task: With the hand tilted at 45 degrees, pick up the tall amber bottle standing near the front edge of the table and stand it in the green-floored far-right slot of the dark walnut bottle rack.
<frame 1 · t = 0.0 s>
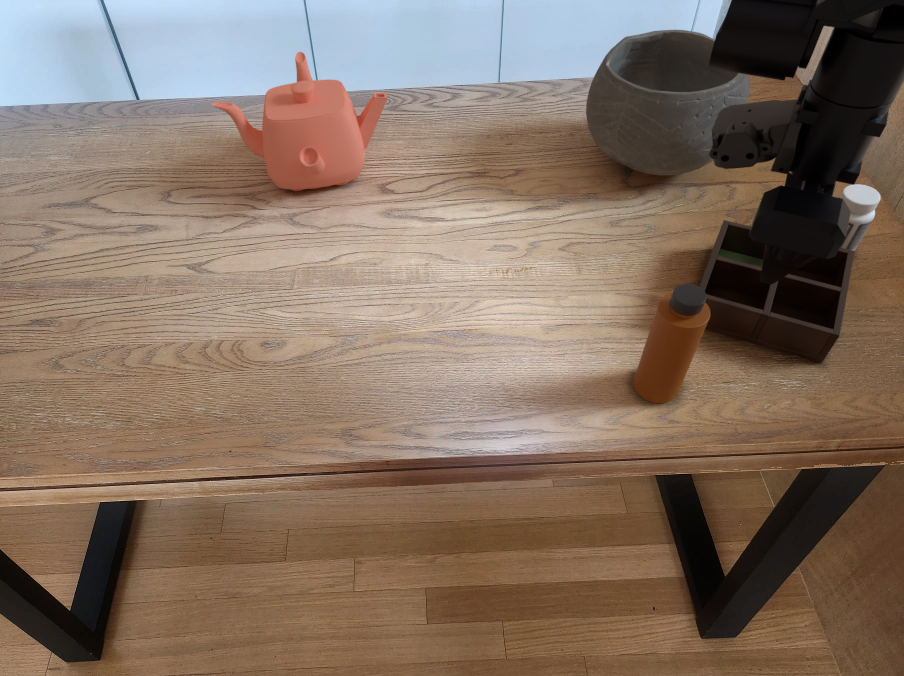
hand: (775, 250, 61), 17 cm above the table, tool pointing down, fingers open, 9 cm apart
rack: (763, 301, 80), on the table
teapot: (314, 171, 104), on the table
amber bottle: (655, 386, 73), on the table
bowl: (649, 160, 100), on the table
pill bottle: (830, 250, 85), on the table
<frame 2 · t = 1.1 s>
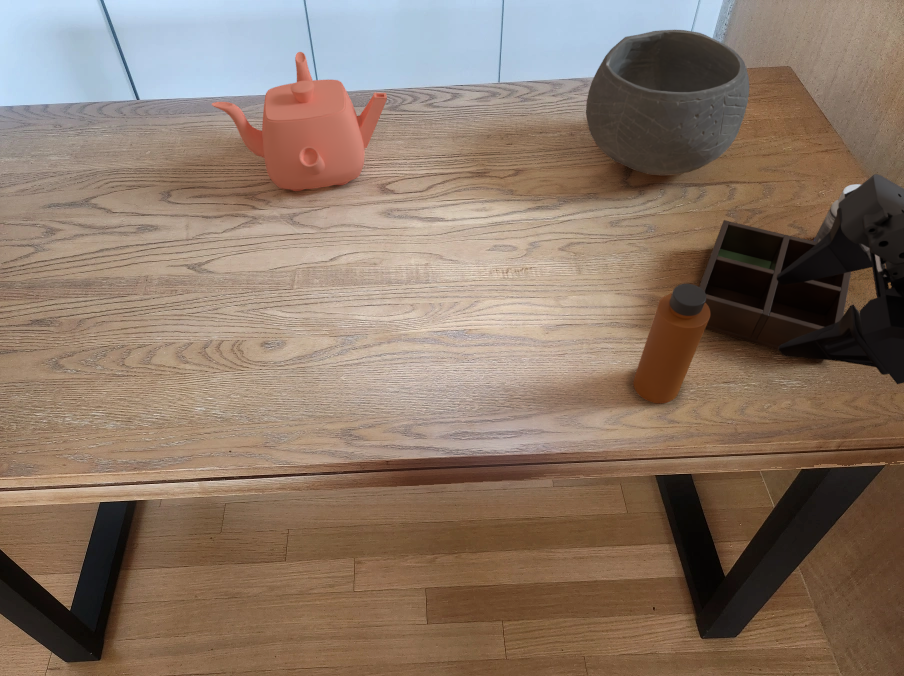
hand: (779, 314, 61), 13 cm above the table, tool tilted 45°, fingers open, 9 cm apart
nothing on the table moved.
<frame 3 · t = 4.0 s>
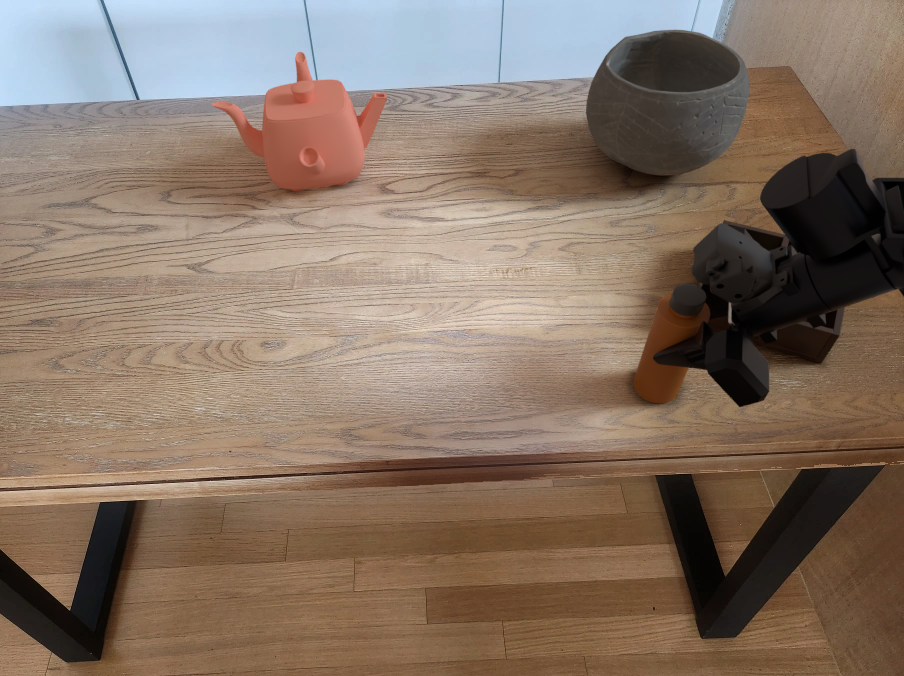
hand: (657, 341, 68), 7 cm above the table, tool tilted 45°, fingers closed on amber bottle, 5 cm apart
amber bottle: (655, 386, 73), on the table, touching gripper
everything else where it was.
when the fingers open (8 cm above the table, at t = 11.9 s): amber bottle stays where it is, resting on rack.
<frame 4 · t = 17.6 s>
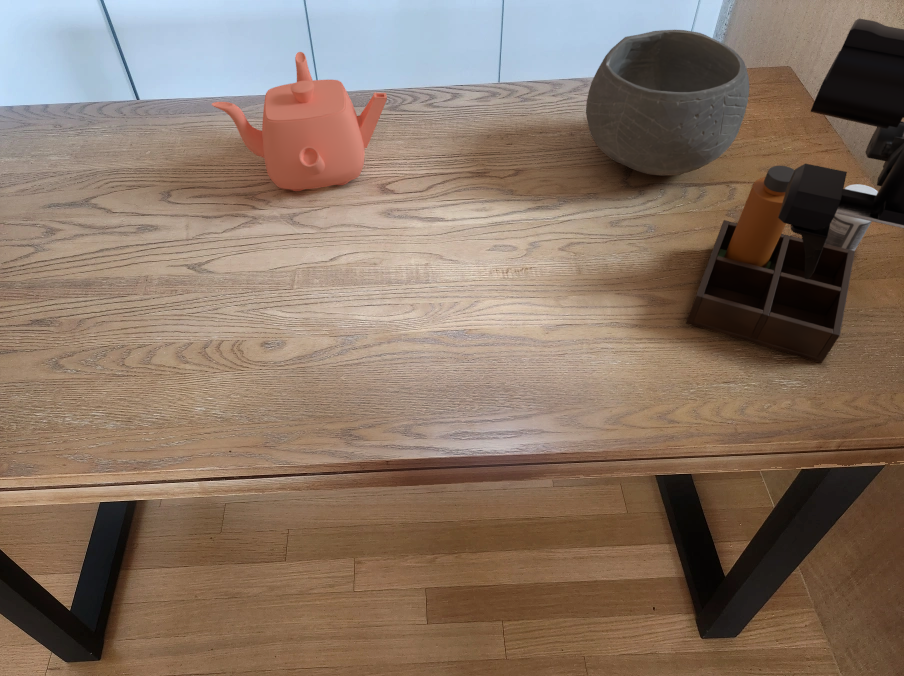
hand: (860, 289, 62), 13 cm above the table, tool pointing down, fingers open, 9 cm apart
amber bottle: (740, 270, 82), point 1 cm above the table, touching rack
everything else where it was.
at the end: amber bottle 0.1 cm from the target spot in the rack, point 0.8 cm above the rack's base; amber bottle tilted 0°; bowl moved 0.2 cm from its start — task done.
